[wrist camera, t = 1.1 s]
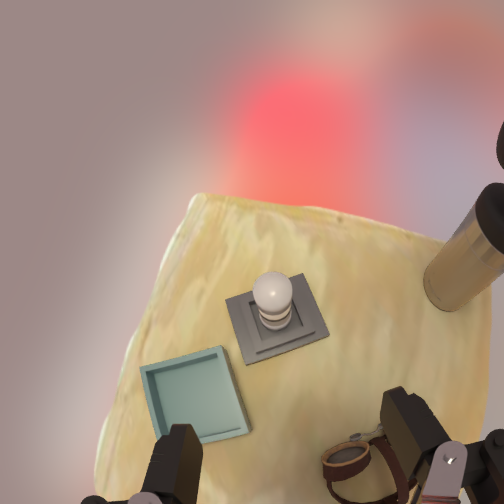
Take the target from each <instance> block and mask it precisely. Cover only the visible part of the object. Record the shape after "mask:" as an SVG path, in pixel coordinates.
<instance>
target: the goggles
mask: <svg viewBox="0 0 504 504" xmlns="http://www.w3.org/2000/svg"><path fill="white" fill-rule="evenodd" d="M379 429H383V427H382V425H381V423H380V424H379V425H378V429H377V431H374V432H372V433H370V434H362V435H361V434H360V433H357V434H353V435H351V436H350V441H353V442H347V443H344V444H340V445H338V446H336V447H333V448H331V449H330V450H328V451H327V452H325V454H324V455H323V456H322V462H323V476H324V478H325V479H326V480H327V487H328V489H329V491H330V493H331V495H332V497H334V498H335V499H336V500H337V501H338V502H339V503H341V504H406V503H407V502H408V499H409V491H410V490H411V489H413V488H414V487H415V486H416V484H417V483H418V482H417V479H416V478H413V479H411V480H409V482H408V481H407V479H406V476H405V474H404V472H403V470H402V468H401V465H400V463H399V461H398V459H397V457H396V455H395V452H394V451H393V449H392V448H391V444H390V442H389V440H388V438H387V436H386V435H384V436H382V437H376V438H373V439H372V440H370V441H369V442H368V443H366V442H364V441H357V440H359V439H361V438H362V436H363V435H372V434H374V433H376V432H379ZM385 439H387V442H388V443H387V442H386V441H385ZM373 444H374V445H375V446H376V447H377V448H378V449H379V451H380V452H381V454H382V455H383V457H384V458H385V460H386V462H387V464H388V466H389V468H390V470H391V472H392V475H393V477H394V480H395V484H396V487H397V492H396V493H394V494H392V495H390V496H388V497H386V498H383V499H382V500H379V501H375V502H367V503H357V502H350V501H347V500H345V499H343V498H341V497H339V496H338V495H337V494H336V493H335V492H334V491H333V489H332V484H331V481H333V482H336V481H342V480H346V479H348V478H351V477H353V476H355V475H357V474H358V473H360V472H361V471H363V470H364V469H365V468H366V467H367V466H368V465H369V463H370V460H371V455H370V450H369V449H370V446H371V445H373ZM397 500H398V501H397Z"/></svg>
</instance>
